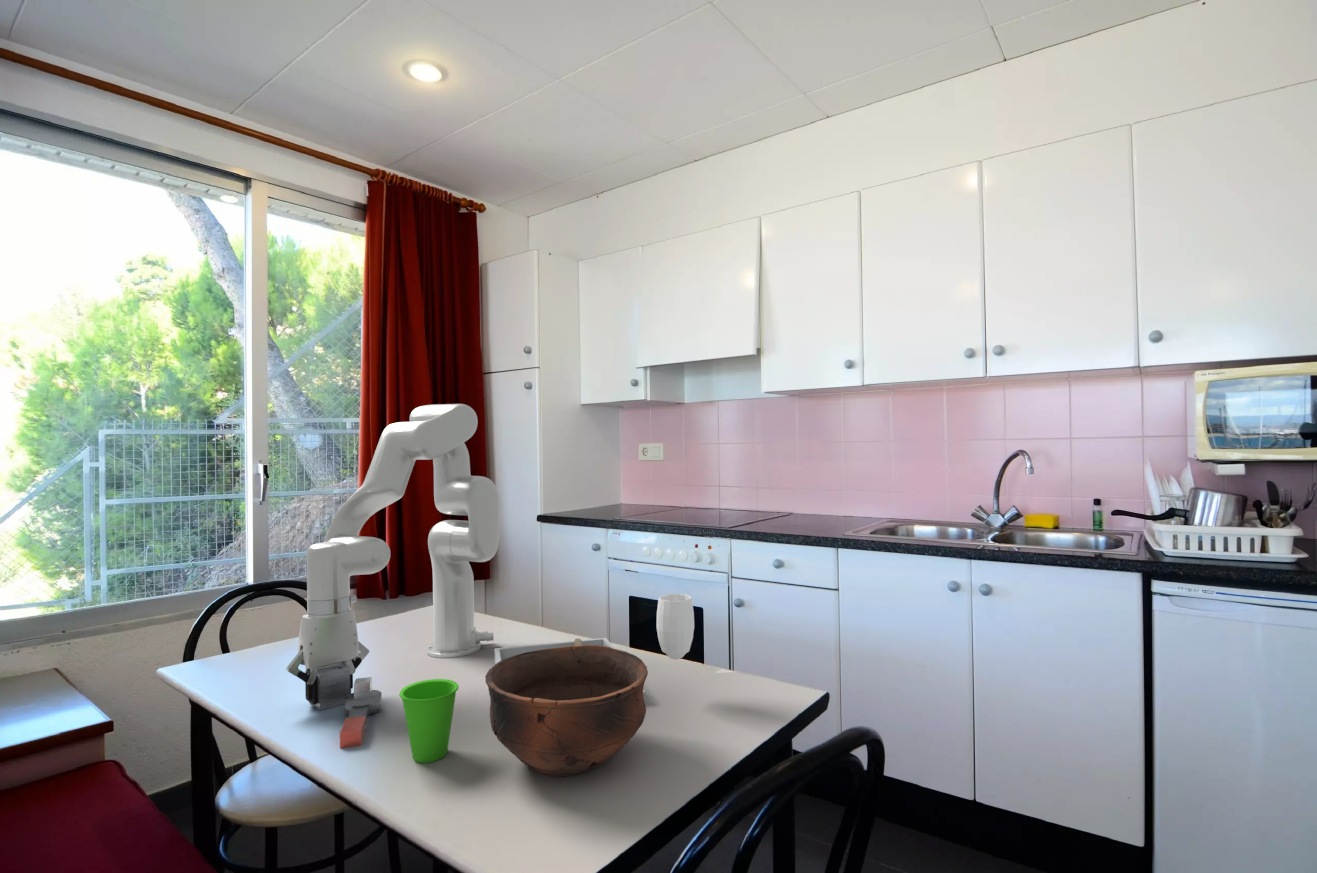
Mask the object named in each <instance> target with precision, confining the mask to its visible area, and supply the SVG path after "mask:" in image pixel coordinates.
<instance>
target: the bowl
mask: <svg viewBox="0 0 1317 873" xmlns="http://www.w3.org/2000/svg"><path fill="white" fill-rule="evenodd" d="M613 648H614V647H613ZM613 648H611V647H608V646H599V645H578V646H571V647H560V648H551V649H543V650H537V651H531V652H526V653H522V654H519V655H516V656H512V657H509V658H506V659H503V660H501V661H500V662H498V663H497V664H495V663H494V665H493V666H491V667H490V668H489V669H488V671H487V672H486V674H485V676H484V677H485V678H484V679H485V684H486V686H487V688H488V694H489V698H490V699H489V700H490V702H489V704H490V705H489V720H490V721H489V722H490V728H491V731H492V732H493V735H494V736H496V739H497V740H498V741H499V742H500V743H501V745H503V746H504V747H505V748H506V749H507V750H508V751H509V752H510V753H511V754H513V755H514V756H515V757H516V758H517V759H518V760H519V761H520V762H521V763H523V764H524V765H525V767H528V768H529V770H530V771H533V772H534V773H539V774H541V775H542V776H543V775H544V776H548V777H562V778H563V777H570V776H571V775H578V774H581V773H584V772H587V771H589V770H591V769H594V768H597V767H598V766H600V765H601V764H603V763H605V762H607V761H608V760H609V759H610V758H612V757H613V756H614V755H616V754H617V753H618V752H619V751H620V750H621V749H622V748H624V746H626V745H627V743H628V742H630V740H631V739H633V737H634V736H635V735H636V733H638V731H639V729H640V728H641V726H642V725H643V722H644V720H645V717H646V712H647V707H646V704H645V701H644V695H643V689H644V685H645V683H646V679H647V677H648V674H649V673H648V671H649V670H648V666H647V665H646V664H645V662H643V660H642V659H641V658H640V657H638V656H636V655H635V654H632V653H630V652H627V651H625V650H621V649H618V648H617V649H616V648H614V649H613Z"/></svg>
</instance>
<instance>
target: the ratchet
mask: <svg viewBox="0 0 1317 873" xmlns="http://www.w3.org/2000/svg"><path fill="white" fill-rule="evenodd" d="M382 698H383V697H382V691H381V690H378V689H373V677H372V676H369V677H368V676H367V677H358V678H355V680H354V681H353V692H351V694H349V695H347V696H346V697H345V704H344V717H345V719H344V722H343V724H342V727H341V729H340V731H339V748H340V749H345V748H346V749H347V748H352V747H360V746H362V743H363V740H364V738H365V735H366V732H367V725H368V722H369V719H370V718H371V717H374V716H377V715H378V714H380V713H381V711H382V709H383V708H382V704H383V702H382V700H383V699H382Z"/></svg>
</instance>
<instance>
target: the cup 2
mask: <svg viewBox="0 0 1317 873" xmlns="http://www.w3.org/2000/svg"><path fill="white" fill-rule="evenodd" d="M655 626H656V632H657V638H658V642H659V643H658V644H659V646H660V648H661V649H660V650H661V651H662V653H664V654H666V655H667V657H668V658H670V659H672V660H676V661H677V660H679V659H682V658H684V656H685V655H686V654H687V653H689V652H690V651H691V650H690V649H691V646H692V643H693V639H694V631H695V611H694V606H693V598H692V596H690V595H689V594H685V593H666V594H663V595H660V596H659V597H658V600H657V609H656V625H655Z"/></svg>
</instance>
